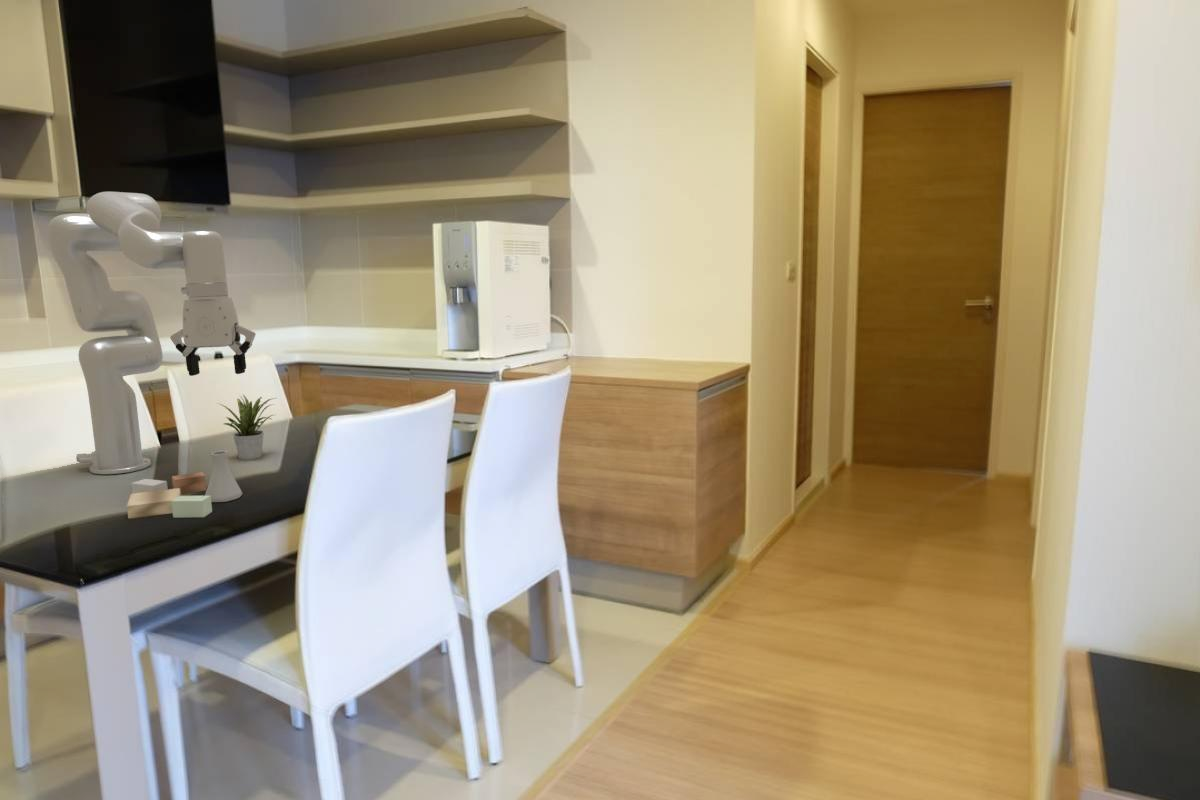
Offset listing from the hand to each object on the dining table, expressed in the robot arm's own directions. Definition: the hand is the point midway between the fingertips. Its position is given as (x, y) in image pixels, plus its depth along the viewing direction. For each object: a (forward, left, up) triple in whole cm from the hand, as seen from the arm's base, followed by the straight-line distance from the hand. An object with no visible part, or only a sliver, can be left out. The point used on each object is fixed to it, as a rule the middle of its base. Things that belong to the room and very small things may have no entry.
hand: (217, 374), depth 169 cm
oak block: (-12, -8, -26) cm, 30 cm away
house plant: (+2, +31, -26) cm, 41 cm away
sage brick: (-4, -14, -26) cm, 30 cm away
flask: (0, -4, -26) cm, 26 cm away
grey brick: (-15, +1, -26) cm, 30 cm away
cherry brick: (-8, +4, -26) cm, 28 cm away
